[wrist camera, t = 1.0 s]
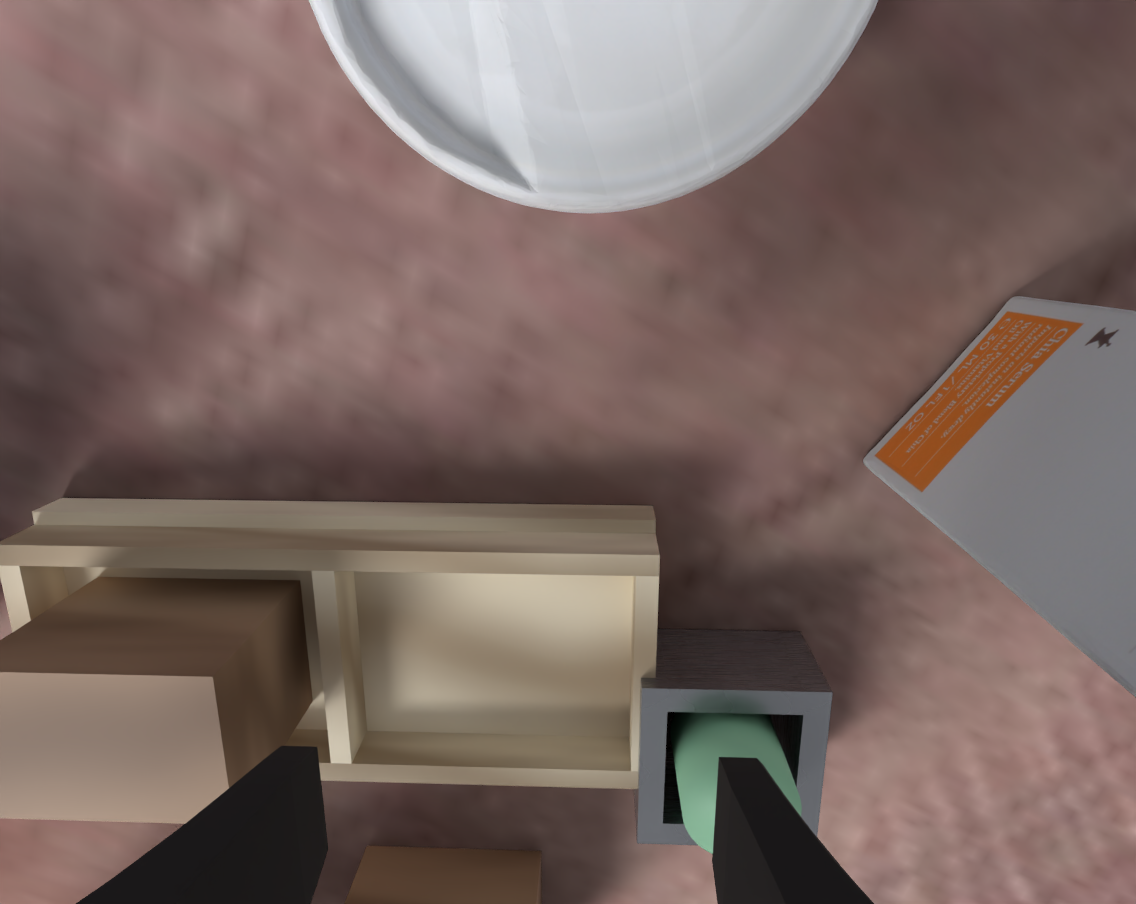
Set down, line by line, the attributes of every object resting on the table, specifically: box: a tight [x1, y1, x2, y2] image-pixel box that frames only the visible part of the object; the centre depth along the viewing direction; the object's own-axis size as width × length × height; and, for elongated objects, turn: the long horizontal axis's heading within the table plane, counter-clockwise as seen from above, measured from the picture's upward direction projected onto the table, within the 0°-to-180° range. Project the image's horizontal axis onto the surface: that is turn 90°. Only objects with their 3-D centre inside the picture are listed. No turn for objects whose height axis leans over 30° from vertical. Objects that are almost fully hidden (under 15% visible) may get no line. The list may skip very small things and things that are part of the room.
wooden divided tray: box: [0, 498, 660, 789], centre depth 22 cm, size 8×18×3 cm, turn 90°
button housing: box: [634, 629, 833, 845], centre depth 22 cm, size 5×5×3 cm
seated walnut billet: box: [0, 577, 313, 824], centre depth 19 cm, size 4×6×5 cm, turn 90°
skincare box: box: [863, 296, 1136, 697], centre depth 15 cm, size 6×4×12 cm
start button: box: [670, 712, 802, 854], centre depth 20 cm, size 3×3×3 cm
